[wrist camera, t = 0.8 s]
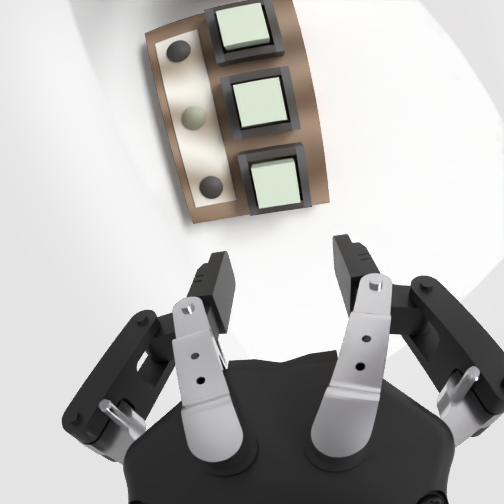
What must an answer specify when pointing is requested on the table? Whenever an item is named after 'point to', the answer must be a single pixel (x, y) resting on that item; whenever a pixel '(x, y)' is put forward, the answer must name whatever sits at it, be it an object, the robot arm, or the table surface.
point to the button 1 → (243, 26)
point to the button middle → (260, 101)
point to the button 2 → (276, 183)
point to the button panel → (236, 111)
